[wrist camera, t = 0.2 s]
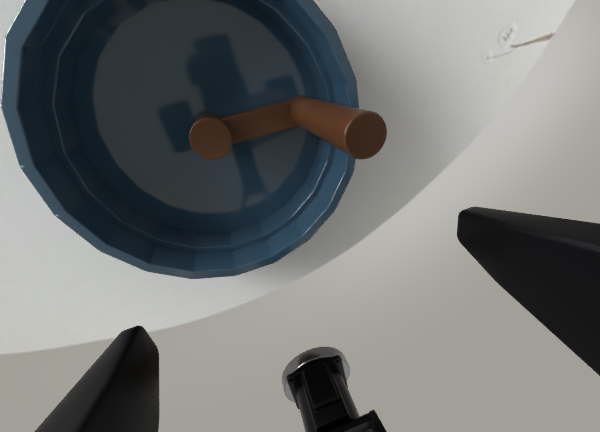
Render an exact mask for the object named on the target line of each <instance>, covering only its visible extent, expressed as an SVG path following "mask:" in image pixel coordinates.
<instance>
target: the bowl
mask: <svg viewBox="0 0 600 432" xmlns="http://www.w3.org/2000/svg"><path fill="white" fill-rule="evenodd" d="M5 37H6V38H5V46H4V60H3V74H2V89H1V104H2V105H1V108H2V111H3V114H4V118H5V121H6V124H7V127H8V130H9V134H10V137H11V140H12V143H13V146H14V150H15V153H16V156H17V159H18V162H19V165H20V168H21V169H22V171H23V172H24V173H25V175H26V176H27V177H28V179H29V180H30V182H31V183H32V184H33V186H34V187H35V189H36V190H37V191H38V193H39V194H40V196H41V197H42V198H43V200H44V201H45V203H46V204H47V205H48V207H49V208H50V210H51V211H52V212H53V214H54V215H55V216H56V217H57V218H58V219H60V220H61V221H62V222H64V223H65V224H66V225H67V226H69V227H70V228H71V229H72V230H74V231H75V232H76V233H77V234H79V235H80V236H81V237H83V238H84V239H85V240H86V241H88V242H89V243H90V244H91V245H93V246H94V247H95V248H96V249H98V250H100V251H101V252H103V253H106V254H108V255H110V256H112V257H115V258H117V259H119V260H122V261H124V262H126V263H128V264H131V265H133V266H135V267H138V268H140V269H142V270H145V271H148V272H153V273H159V274H165V275H171V276H177V277H183V278H189V279H199V278H212V277H224V276H235V275H239V274H242V273H245V272H248V271H251V270H254V269H257V268H260V267H263V266H266V265H269V264H272V263H274V262H276V261H278V260H279V259H281V258H282V257H284V256H285V255H287V254H288V253H290V252H291V251H293V250H294V249H296V248H298V247H299V246H301V245H302V244H304V243H305V242H307V241H308V240H309V239H310V238H311V237H312V236H313V235H314V234H315V232H316V231H317V230H318V229H319V228H320V227H321V226H322V225H323V223H324V222H325V221H326V220H327V219H328V218H329V217H330V216H331V214H332V213H333V212H334V211H335V209H336V207H337V205H338V203H339V201H340V199H341V197H342V195H343V193H344V191H345V189H346V187H347V185H348V183H349V180H350V178H351V176H352V174H353V171H354V165H355V160H356V158H354V157H352V156H350V155H348V154H347V153H345V152H343V151H341V150H340V149H338V148H336V147H335V146H333V145H331V144H330V143H328V142H326V141H324V140H323V139H321V138H319V137H318V136H316V135H314V134H312V133H311V132H309V131H307V130H306V129H304V128H302V127H301V126H297V127H293V128H289V129H286V130H282V131H279V132H275V133H271V134H268V135H264V136H260V137H257V138H253V139H249V140H246V141H242V142H238V143H235V144H232V146H231V149H230V150H229V152H228V153H227V154H226V155H225V156H224V157H222V158H220V159H216V160H209V159H205V158H202V157H201V156H199V155H198V154H197V153H195V151H194V150H193V149H192V147H191V145H190V141H189V133H190V130H191V127H192V125H193V122H194V121H195V119H196V118H197V117H198V116H200V115H201V114H204V113H215V114H218V115H220V116H225V115H229V114H233V113H236V112H240V111H244V110H248V109H252V108H256V107H259V106H263V105H267V104H271V103H275V102H279V101H283V100H286V99H290V98H292V97H293V96H296V95H302V96H307V97H311V98H315V99H320V100H324V101H328V102H333V103H337V104H341V105H346V106H350V107H354V108H359V103H358V93H357V83H356V80H355V79H356V78H355V75H354V73H353V71H352V68H351V66H350V63H349V61H348V58H347V56H346V53H345V51H344V48H343V46H342V43H341V41H340V38H339V36H338V34H337V31H336V29H335V27H334V26H333V24H332V23H331V22H330V21H329V19H328V18H327V17H326V16H325V15H324V13H323V12H322V11H321V10H320V8H319V7H318V6H317V5H316V3H315V2H314V1H313V0H25V1H24V3H23V5H22V7H21V9H20V10H19V12H18V14H17V16H16V18H15V19H14V21H13V23H12V25H11V27H10V29H9V30H8V32H7V34H6V36H5Z"/></svg>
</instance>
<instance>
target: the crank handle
mask: <svg viewBox="0 0 600 432" xmlns="http://www.w3.org/2000/svg"><path fill="white" fill-rule="evenodd" d="M297 126H301V127H302V128H304V129H306V130H307V131H309V132H311V133H312V134H314V135H316V136H318V137H319V138H321V139H323V140H324V141H326V142H328V143H330V144H331V145H333V146H335V147H336V148H338V149H340V150H341V151H343V152H345V153H347V154H348V155H350V156H352V157H354V158H356V159H367V158H370V157H372V156H374V155H375V154H377V153H378V152H379V151H380V149H381V148H382V147H383V145H384V143H385V140H386V135H387V129H386V124H385V122H384V120H383V118H382V117H381V116H380V115H379V114H377V113H375V112H372V111H368V110H363V109H359V108H354V107H350V106H346V105H341V104H337V103H333V102H328V101H324V100H320V99H315V98H311V97H307V96H302V95H296V96H293V97H292V98H290V99H286V100H283V101H279V102H275V103H271V104H267V105H263V106H259V107H256V108H252V109H248V110H244V111H240V112H236V113H233V114H229V115H225V116H220V115H218V114H215V113H204V114H201V115H200V116H198V117H197V118H196V119H195V121H194V122H193V125H192V127H191V130H190V133H189V141H190V145H191V147H192V149H193V150H194V151H195V153H197V154H198V155H199V156H201V157H202V158H205V159H209V160H216V159H220V158H222V157H224V156H225V155H226V154H227V153H228V152H229V150H230V149H231V146H232V144H235V143H238V142H242V141H246V140H249V139H253V138H257V137H260V136H264V135H268V134H271V133H275V132H279V131H282V130H286V129H289V128H293V127H297Z"/></svg>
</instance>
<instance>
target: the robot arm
mask: <svg viewBox="0 0 600 432" xmlns="http://www.w3.org/2000/svg"><path fill="white" fill-rule="evenodd" d="M457 237H458V240H459V241H460V243H461V244H462V245H463V246H464V247H465V248H466V249H467V251H468V252H469V253H470V254H471V255H472V256H473V257H474V258H475V259H476V260H477V261H478V263H479V264H480V265H481V266H482V267H483V268H484V269H485V270H486V271H487V272H488V273H489V274H490V276H491V277H492V278H493V279H494V280H495V281H496V282H497V283H498V284H499V285H500V286H501V287H502V288H504V289H505V290H506V291H507V292H508V293H509V294H510V295H511V296H512V297H514V298H515V299H516V300H517V301H518V302H519V303H520V304H521V305H522V306H523V307H524V308H526V309H527V310H528V311H529V312H530V313H531V314H532V315H533V316H535V318H537V319H538V320H539V321H540V322H541V323H542V324H543V325H544V326H545V327H547V328H548V329H549V330H550V331H551V332H552V333H553V334H554V335H556V336H557V337H558V338H559V339H560V340H561V341H562V342H563V343H564V344H565V345H566V346H567V347H569V348H570V349H571V350H572V351H573V352H574V353H575V354H576V355H577V356H579V357H580V358H581V359H582V360H583V361H584V362H585V363H586V364H587V365H588V366H590V367H591V368H592V369H593V370H594V371H595V372H596V373H597V374H598V375H599V376H600V224H598V223H591V222H583V221H576V220H569V219H562V218H554V217H547V216H540V215H532V214H525V213H517V212H511V211H503V210H496V209H488V208H481V207H471V208H468V209H465V210H462V211H461V212H460V213H459V216H458V229H457ZM286 379H287V382H288V385H289V387H290V390H291V393H292V395H293V398H294V400H295V403H296V405H297V407H298V409H300V411H301V415H302V419H303V423H304V427H305V431H306V432H386V430H385V428H384V426H383V425H382V423H381V421H380V419H379V418H378V416H377V414H376V412H375V411H374V410H372V411H370V412H369V413H368V414H365V415H363V416H361V417H360V416H359V414H358V412H357V409H356V407H355V405H354V402H353V400H352V398H351V396H350V393H349V391H348V386H347V382H346V377H345V372H344V368H343V363H342V359H341V357H340V355H336V356H333V357H331V358H328V359H326V360H323V361H321V362H318V363H316V364H313V365H311V366H308V367H306V368H303V369H301V370H298V371H296V372H293V373H291V374H288V375H287V377H286ZM158 425H159V353H158V349H157V346H156V345H155V343H154V342H153V341H152V339H151V338H150V336H149V335H148V333H147V332H146V330H145V329H144V328H143V327H142V326H136V327H133V328H130V329H127V330H124V331H122V332H121V333H120V334H119V335H118V336H117V338H116V339H115V340H114V341H113V342H112V344H110V346H109V347H108V348H107V349H106V350H105V351H104V353H103V354H102V355H101V356H100V357H99V358H98V359H97V361H96V362H95V363H94V364H93V365H92V366H91V368H90V369H89V370H88V371H87V372H86V373H85V374H84V376H83V377H82V378H81V379H80V380H79V381H78V383H77V384H76V385H75V386H74V387H73V388H72V389H71V390H70V392H69V393H68V394H67V395H66V396H65V397H64V399H63V400H62V401H61V402H60V403H59V404H58V405H57V407H56V408H55V409H54V410H53V411H52V412H51V413H50V415H49V416H48V417H47V418H46V419H45V420H44V422H43V423H42V424H41V425H40V426H39V427H38V428H37V430H36V431H35V432H158V427H159V426H158Z"/></svg>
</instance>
